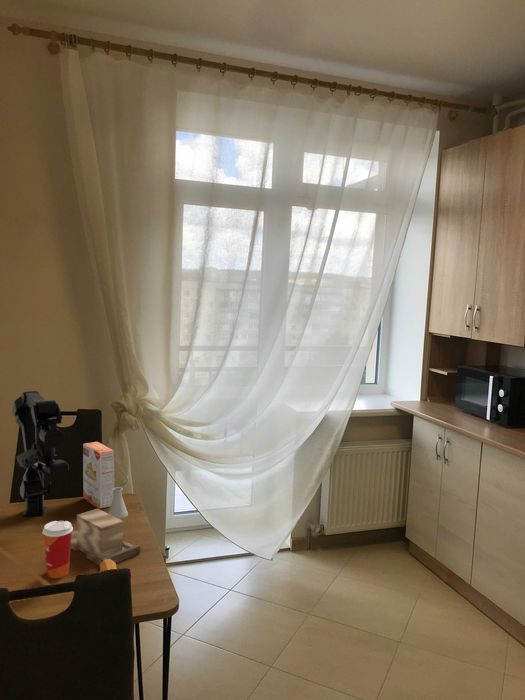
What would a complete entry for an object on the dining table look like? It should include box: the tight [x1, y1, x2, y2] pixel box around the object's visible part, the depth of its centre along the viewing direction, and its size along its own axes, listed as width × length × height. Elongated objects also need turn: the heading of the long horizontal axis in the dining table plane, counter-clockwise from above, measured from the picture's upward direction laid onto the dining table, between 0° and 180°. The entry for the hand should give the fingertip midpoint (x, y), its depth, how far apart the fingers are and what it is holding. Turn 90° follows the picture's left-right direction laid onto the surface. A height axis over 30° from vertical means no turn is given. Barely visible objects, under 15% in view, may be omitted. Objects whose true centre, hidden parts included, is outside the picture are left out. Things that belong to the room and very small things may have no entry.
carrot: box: [99, 559, 118, 572], centre depth 144 cm, size 20×4×4 cm, turn 26°
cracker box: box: [82, 441, 115, 510], centre depth 199 cm, size 14×6×21 cm, turn 41°
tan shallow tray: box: [71, 529, 141, 567], centre depth 166 cm, size 26×22×3 cm
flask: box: [108, 486, 129, 520], centre depth 189 cm, size 7×7×10 cm
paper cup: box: [41, 520, 74, 579], centre depth 149 cm, size 8×8×14 cm
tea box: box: [76, 507, 124, 559], centre depth 165 cm, size 13×7×9 cm, turn 49°
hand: (45, 487), depth 178 cm, fingers closed
